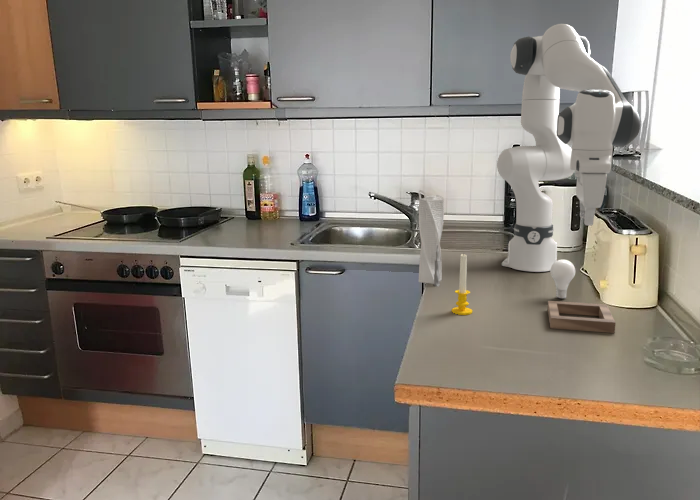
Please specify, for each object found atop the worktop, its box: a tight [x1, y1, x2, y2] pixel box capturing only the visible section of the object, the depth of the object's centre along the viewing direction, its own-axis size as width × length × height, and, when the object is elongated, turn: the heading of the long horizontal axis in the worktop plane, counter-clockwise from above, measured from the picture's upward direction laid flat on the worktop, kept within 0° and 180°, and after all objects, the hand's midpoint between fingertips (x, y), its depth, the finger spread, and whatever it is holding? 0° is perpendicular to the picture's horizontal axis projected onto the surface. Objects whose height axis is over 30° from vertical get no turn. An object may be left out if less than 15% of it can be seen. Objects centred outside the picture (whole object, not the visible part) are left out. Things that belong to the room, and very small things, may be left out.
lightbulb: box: [549, 259, 576, 300], centre depth 162 cm, size 6×6×11 cm
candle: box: [451, 253, 473, 316], centre depth 152 cm, size 5×5×16 cm
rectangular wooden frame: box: [547, 300, 616, 334], centre depth 146 cm, size 14×14×2 cm
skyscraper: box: [418, 190, 445, 287], centre depth 177 cm, size 8×8×28 cm
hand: (586, 221), depth 141 cm, fingers open, 8 cm apart
